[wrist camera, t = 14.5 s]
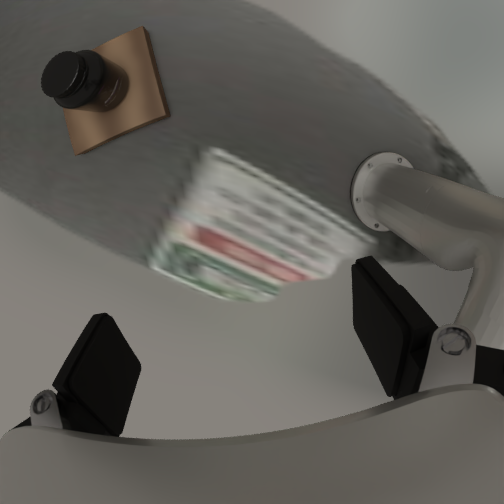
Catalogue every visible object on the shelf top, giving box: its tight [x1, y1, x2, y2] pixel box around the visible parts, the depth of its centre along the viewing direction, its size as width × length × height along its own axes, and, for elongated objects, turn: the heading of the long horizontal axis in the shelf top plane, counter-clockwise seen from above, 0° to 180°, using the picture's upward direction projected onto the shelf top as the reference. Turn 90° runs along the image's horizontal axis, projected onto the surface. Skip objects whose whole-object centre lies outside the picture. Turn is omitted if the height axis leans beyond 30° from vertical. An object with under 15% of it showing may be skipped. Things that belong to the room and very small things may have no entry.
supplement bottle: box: [41, 50, 129, 112], centre depth 21 cm, size 7×7×12 cm
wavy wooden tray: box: [63, 26, 170, 156], centre depth 28 cm, size 14×14×3 cm
